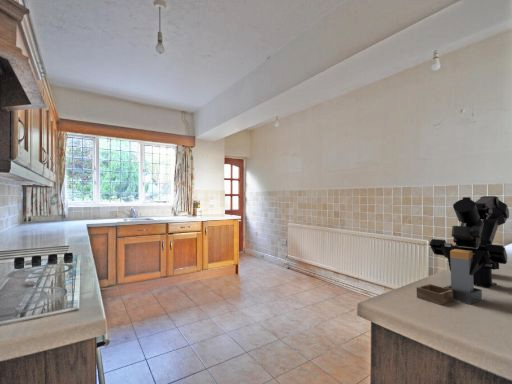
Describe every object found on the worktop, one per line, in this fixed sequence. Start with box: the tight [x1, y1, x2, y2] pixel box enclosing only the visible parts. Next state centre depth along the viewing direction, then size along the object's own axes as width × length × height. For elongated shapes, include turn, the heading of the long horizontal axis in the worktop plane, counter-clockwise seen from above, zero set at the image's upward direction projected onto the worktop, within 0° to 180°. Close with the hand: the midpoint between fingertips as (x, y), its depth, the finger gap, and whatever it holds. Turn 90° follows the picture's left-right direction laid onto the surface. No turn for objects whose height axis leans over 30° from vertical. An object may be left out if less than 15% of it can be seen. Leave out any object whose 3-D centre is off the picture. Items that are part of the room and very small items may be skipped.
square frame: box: [416, 283, 455, 306], centre depth 82 cm, size 7×7×3 cm
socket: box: [443, 284, 483, 305], centre depth 82 cm, size 7×7×3 cm
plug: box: [450, 249, 475, 293], centre depth 82 cm, size 4×4×13 cm
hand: (460, 272), depth 81 cm, fingers closed on plug, 4 cm apart
